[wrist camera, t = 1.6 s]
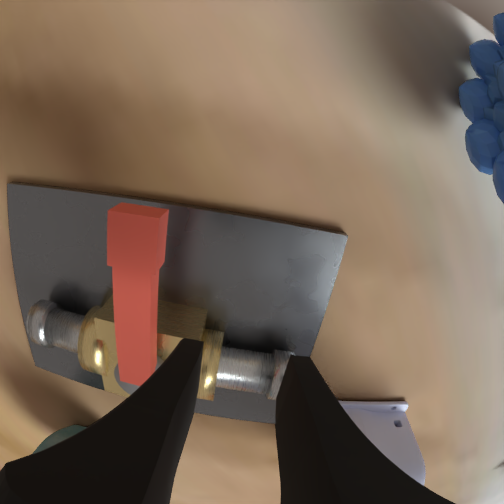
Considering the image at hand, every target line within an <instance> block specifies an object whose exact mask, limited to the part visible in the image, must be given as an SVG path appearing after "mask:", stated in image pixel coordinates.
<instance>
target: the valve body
mask: <svg viewBox="0 0 504 504" xmlns="http://www.w3.org/2000/svg"><path fill="white" fill-rule="evenodd" d="M7 198H8V219H9V232H10V242H11V251H12V260H13V267H14V274H15V280H16V286H17V292H18V297H19V302H20V307H21V312H22V316H23V321H24V325H25V329H26V333H27V337H28V341H29V344H30V348H31V352H32V355H33V359H34V362H35V365H36V366H37V367H40V368H42V369H45V370H47V371H50V372H52V373H55V374H58V375H60V376H63V377H66V378H69V379H71V380H74V381H77V382H80V383H83V384H86V385H89V386H92V387H95V388H98V389H102V390H105V391H108V392H111V393H115V394H118V395H122V396H125V397H129V396H130V394H128V393H127V392H126V391H124V390H123V389H122V388H121V387H120V386H119V384H118V383H117V381H116V379H115V376H114V369H115V367H116V365H117V363H118V358H117V348H116V336H115V323H114V306H113V279H112V266H107V218H108V210H109V209H111V208H113V207H114V206H116V205H118V204H119V203H121V202H123V203H130V204H137V205H143V206H150V207H156V208H163V209H169V214H168V225H167V236H166V249H165V262H164V263H163V265H162V266H161V268H160V269H159V284H158V310H157V355H158V356H159V357H160V358H162V359H163V360H164V361H165V360H166V359H167V357H168V356H169V355H170V354H171V353H172V351H173V350H174V349H175V347H176V346H177V345H178V343H179V342H180V340H182V339H183V338H188V339H193V340H198V341H204V345H203V354H202V363H201V372H200V381H199V389H198V394H197V400H196V405H195V410H194V412H195V413H200V414H206V415H212V416H218V417H225V418H231V419H239V420H246V421H255V422H264V423H274V424H275V414H276V397H277V394H278V391H279V388H280V385H281V382H282V379H283V376H284V373H285V370H286V367H287V364H288V361H289V358H290V355H298V356H307V357H310V355H311V352H312V349H313V346H314V344H315V341H316V338H317V335H318V332H319V329H320V326H321V323H322V320H323V317H324V314H325V311H326V308H327V305H328V302H329V299H330V296H331V292H332V289H333V286H334V283H335V280H336V276H337V273H338V270H339V266H340V263H341V259H342V256H343V252H344V249H345V245H346V242H347V238H348V235H347V234H346V233H344V232H339V231H334V230H329V229H324V228H319V227H314V226H309V225H303V224H298V223H293V222H287V221H282V220H276V219H271V218H265V217H259V216H254V215H248V214H242V213H236V212H230V211H224V210H218V209H212V208H206V207H200V206H194V205H187V204H181V203H174V202H168V201H161V200H154V199H147V198H140V197H133V196H126V195H119V194H112V193H104V192H97V191H89V190H81V189H73V188H64V187H56V186H47V185H38V184H29V183H19V182H10V183H7Z"/></svg>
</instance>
